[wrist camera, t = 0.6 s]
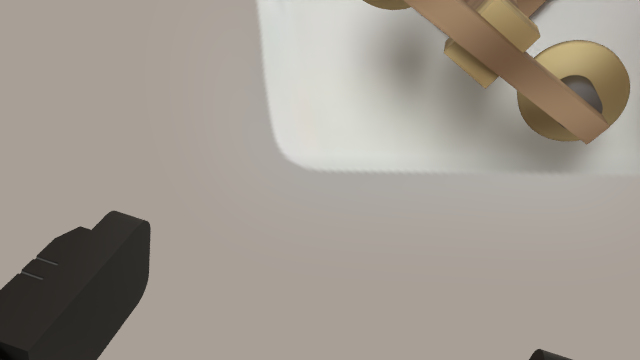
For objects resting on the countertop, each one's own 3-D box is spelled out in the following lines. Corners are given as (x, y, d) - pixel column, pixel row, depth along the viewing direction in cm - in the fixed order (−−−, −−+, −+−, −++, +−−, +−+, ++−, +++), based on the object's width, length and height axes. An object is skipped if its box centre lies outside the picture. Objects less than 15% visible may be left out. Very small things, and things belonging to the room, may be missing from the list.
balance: (352, -66, 35) (284, -16, 22) (419, -158, 31) (384, -159, 19) (543, 103, 37) (575, 230, 25) (624, 33, 34) (706, 139, 22)
